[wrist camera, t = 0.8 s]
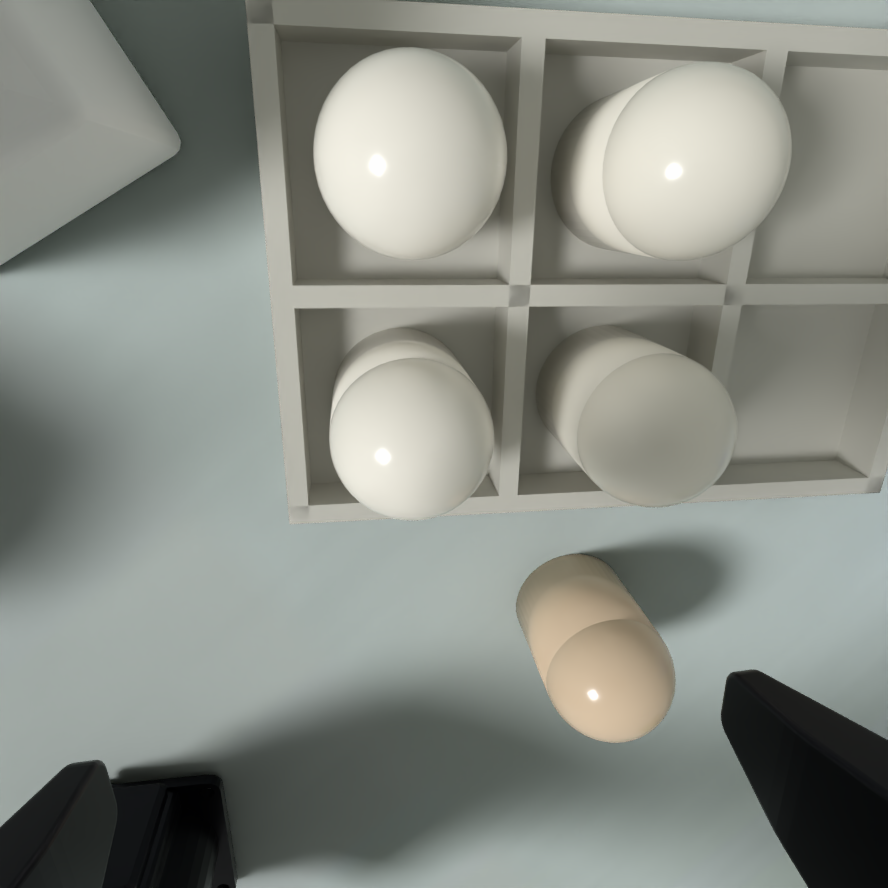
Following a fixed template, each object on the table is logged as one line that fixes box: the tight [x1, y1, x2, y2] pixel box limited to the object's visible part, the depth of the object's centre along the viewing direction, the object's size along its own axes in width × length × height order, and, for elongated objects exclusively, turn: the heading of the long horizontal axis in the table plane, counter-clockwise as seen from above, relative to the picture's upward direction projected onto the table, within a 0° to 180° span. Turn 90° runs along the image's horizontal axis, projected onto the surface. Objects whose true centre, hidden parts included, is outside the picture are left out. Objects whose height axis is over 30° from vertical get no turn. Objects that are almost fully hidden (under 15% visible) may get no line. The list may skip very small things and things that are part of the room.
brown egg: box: [516, 554, 676, 743], centre depth 21 cm, size 4×4×6 cm
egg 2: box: [329, 328, 494, 521], centre depth 17 cm, size 4×4×6 cm
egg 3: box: [551, 62, 792, 261], centre depth 15 cm, size 4×4×6 cm
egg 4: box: [536, 325, 737, 507], centre depth 18 cm, size 4×4×6 cm
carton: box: [245, 0, 888, 524], centre depth 19 cm, size 14×20×2 cm
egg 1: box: [313, 47, 507, 260], centre depth 15 cm, size 4×4×6 cm
